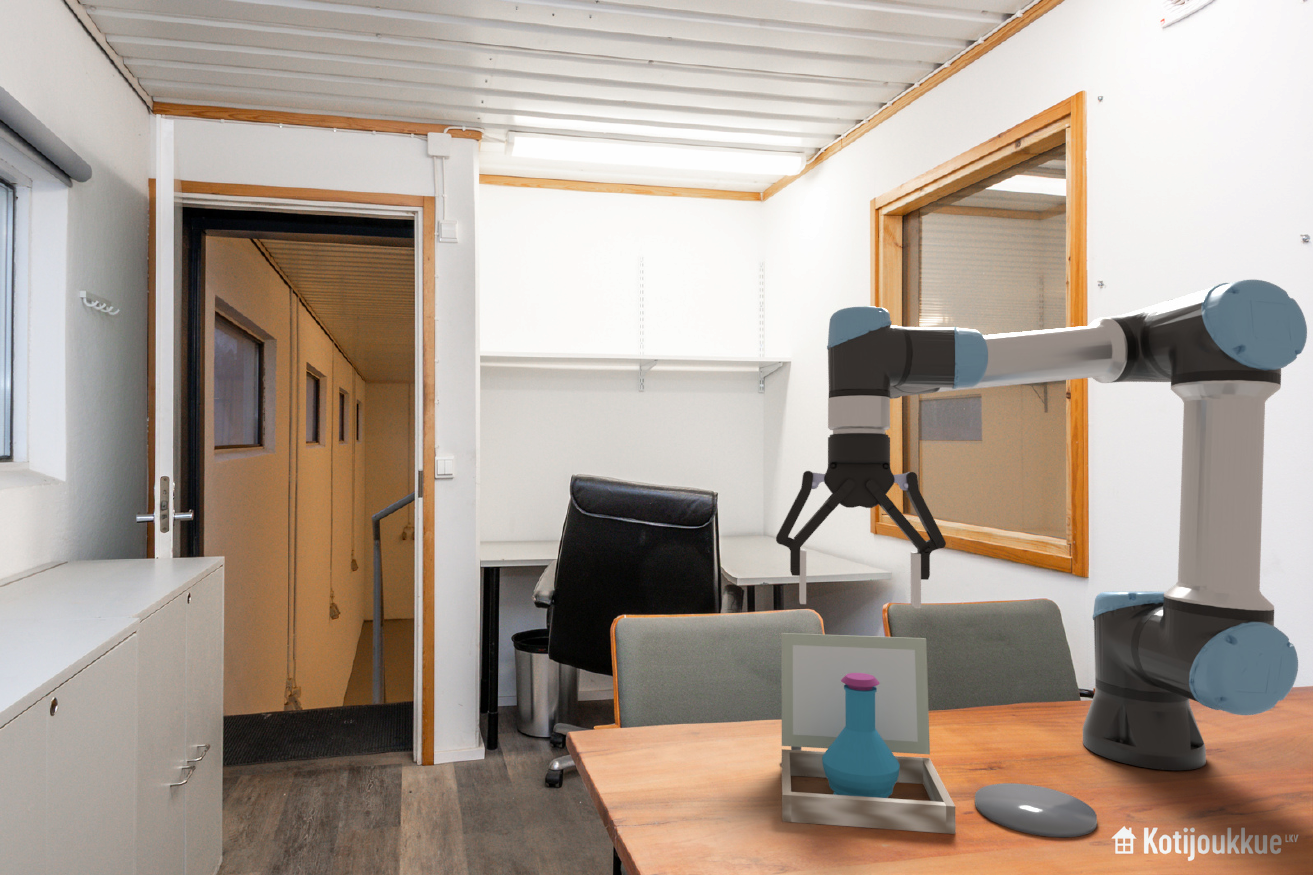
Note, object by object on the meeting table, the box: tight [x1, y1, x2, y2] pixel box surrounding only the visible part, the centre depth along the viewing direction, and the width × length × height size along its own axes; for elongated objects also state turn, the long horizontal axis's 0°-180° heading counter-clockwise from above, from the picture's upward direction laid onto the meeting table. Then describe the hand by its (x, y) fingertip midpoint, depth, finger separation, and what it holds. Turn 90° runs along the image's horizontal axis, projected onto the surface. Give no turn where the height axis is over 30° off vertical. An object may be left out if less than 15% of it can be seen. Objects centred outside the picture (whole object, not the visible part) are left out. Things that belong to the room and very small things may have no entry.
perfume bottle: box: [822, 673, 900, 798], centre depth 97 cm, size 9×9×15 cm
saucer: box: [974, 782, 1098, 838], centre depth 94 cm, size 13×13×1 cm
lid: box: [781, 632, 931, 755], centre depth 105 cm, size 19×15×1 cm
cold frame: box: [781, 748, 957, 835], centre depth 97 cm, size 19×15×3 cm
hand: (858, 604), depth 98 cm, fingers open, 13 cm apart
